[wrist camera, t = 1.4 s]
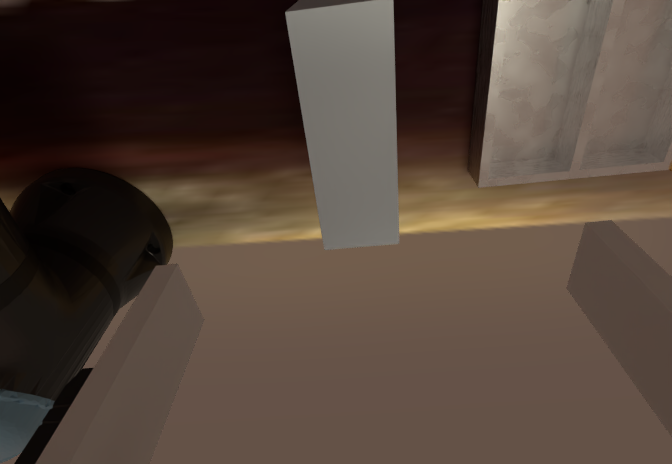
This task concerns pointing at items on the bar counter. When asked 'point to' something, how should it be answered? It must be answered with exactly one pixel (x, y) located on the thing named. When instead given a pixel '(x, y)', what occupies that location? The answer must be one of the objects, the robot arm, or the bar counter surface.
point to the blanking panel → (349, 116)
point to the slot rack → (571, 90)
